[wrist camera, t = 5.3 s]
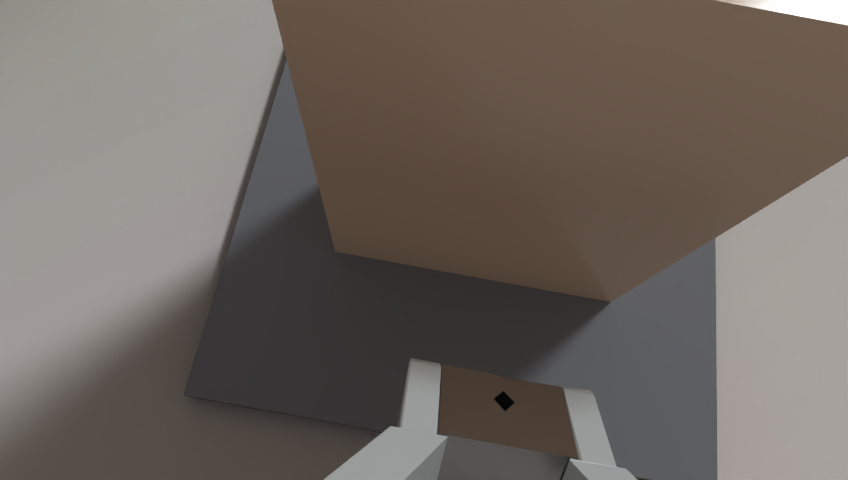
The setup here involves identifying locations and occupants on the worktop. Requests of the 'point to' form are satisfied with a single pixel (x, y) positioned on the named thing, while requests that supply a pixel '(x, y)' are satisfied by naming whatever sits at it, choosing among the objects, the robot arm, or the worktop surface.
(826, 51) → the block
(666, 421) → the mat
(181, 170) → the worktop surface
